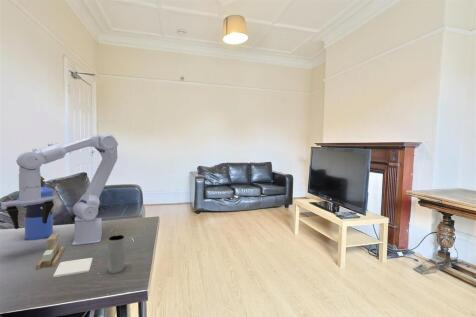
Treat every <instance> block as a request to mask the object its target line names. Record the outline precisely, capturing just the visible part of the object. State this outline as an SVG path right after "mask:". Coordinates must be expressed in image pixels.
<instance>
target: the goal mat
mask: <svg viewBox="0 0 476 317" xmlns="http://www.w3.org/2000/svg"><path fill="white" fill-rule="evenodd" d="M93 259H94V258H93V257H88V258H81V259H80V258H79V259H73V260H66V261H60V263H59V264H58V265H57V268H56V270H55V272H54V273H53V276H52V278H60V277H67V276H73V275H79V274H85V273H89V272H90V271H91V270H90V269H91V266H92V262H93Z"/></svg>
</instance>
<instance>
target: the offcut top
mask: <svg viewBox="0 0 476 317" xmlns="http://www.w3.org/2000/svg"><path fill="white" fill-rule="evenodd" d="M53 256H54V249H53V250H47V249H46V250H45V251H44V253H43V254H42V257H43V262H44V261H51V259H52V257H53Z"/></svg>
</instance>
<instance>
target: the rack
mask: <svg viewBox="0 0 476 317" xmlns="http://www.w3.org/2000/svg"><path fill="white" fill-rule="evenodd" d="M65 247H66V246H64V245H63V246H61V248H59V252H58V254H57V255H56V257H55V259H54V260H53V262H52V265H51V268H55V267H56V265H57V264H58V262H59V260H60V258H61V256H63V253H64V251H65ZM42 267H43V256H42V258H41V259H40V260H39V262H38V263H37V264H36V270H40V269H41V268H42Z"/></svg>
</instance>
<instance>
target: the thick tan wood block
mask: <svg viewBox="0 0 476 317" xmlns="http://www.w3.org/2000/svg"><path fill="white" fill-rule="evenodd" d="M46 239H47V240H46V246H47V247H46V248H47V249H46V250H53V249H54V259H55V257H56V255H57V254H58V252H59V251H60V233H59V232H57V233H53V234H51V236H50V237H47V238H46Z"/></svg>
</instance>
